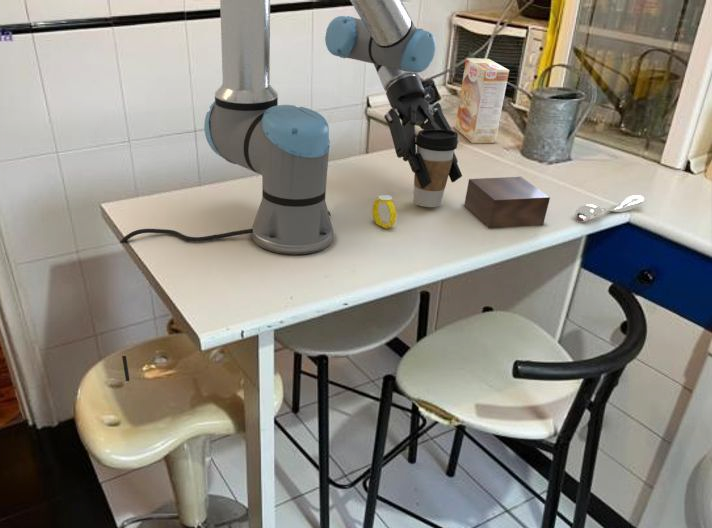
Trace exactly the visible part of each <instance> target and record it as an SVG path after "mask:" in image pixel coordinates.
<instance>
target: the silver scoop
mask: <svg viewBox="0 0 712 528" xmlns="http://www.w3.org/2000/svg"><path fill="white" fill-rule="evenodd" d="M635 199H636V201H635ZM632 200H634V201H632ZM644 202H645V198H644V197H643V196H642V195H631V196H629V197H626V198H625V199H624V200H623V201H622V202H620V203H619V204H618V205H617V206H615V207H614V208H607V207H602V206H600V205H598V204H592V203H586V204H582V205H580V206H579V207H578V208H576V210H575V212H574V217H575V220H576V221H578V222H581V223H582V222H587V221H590V220H592V219H594V218H596V217H598V216H599V215H601V214H602V213H603V212H604V211H607V212H608V211H609V212H615V213H622V212H628V211H631V210H633V209H635V208H638V207H639V206H641V205H642V204H643V203H644Z"/></svg>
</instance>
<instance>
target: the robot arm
mask: <svg viewBox="0 0 712 528" xmlns="http://www.w3.org/2000/svg"><path fill="white" fill-rule="evenodd" d="M349 1H350V3H351V5H352V6H353V8H354V10H355V11H356V13H357V14H358V17H359V18H357V17H353V16H349V15H347V16H346V15H338V16H336V17H334V18H332V20H331V21H330V22H329V23H328V25H327V27H326V31H325V35H324V42H325V46H326V49H327V50H328V52H329V53H330V54H331V55H332V56H335V57H339V58H341V59H351V60H356V61H359V62H364V63H370V64H373V66H374V68H375V71H376V73H377V76H378V78H379V81H380V83H381V86H382V87H383V90H384V92H385V94H386V97H387V100H388V103H389V105H390V107H391V108H390V109H389V110H388V111H387V112H386V113H385V114H384V116H383V117H384V120H385V121H386V123H387V125H388V127H389V131H390V135H391V139H392V143H393V146H394V150H395V155H396V157H397V158H398V159H402V161H404V162H408V164H409V167H410V169H411V172H412V173H414V175H415V174H416V176H417V179H418V181H419V184H420V186H421V188H425V187H426V186H428V185H429V184H430V183H431V182H432V181H431V178H430V176H429V173H428V171H427V169H426V166H425V164H424V161H423V159H422V156H421V154H420V153H418V154H416V153H417V145H416V126H418V127H419V128H420V129H421V130H426V129H445V130H452V131H453V129H452V127H451V126H450V123H449V121H448V120H447V117H446V116H445V115H444V113H443V109H442V105H441V104H440V103H439V102H436V103H435V104H430V103H429V102H428V101H427V100H426V99H425V93H426V91H425V88H424V86H423V83H422V80H421V78H420V77H419V76H418V75H419V73H422V72H424V71H426V69H427V68H428V67H430V64H431V63H432V62H433V60H434V57H435V53H436V39H435V37H434V35H433V34H432V32H430V31H429V30H424V28H417V27H416V26H415V24H414V22H413V20H412V18H411V16H410V14H409V12H408V10H407V7H406V6H405V4H404V2H403V0H349ZM219 4H220V5H219V6H220V7H219V9H220V10H219V11H220V12H219V13H220V40H221V75H222V84H221V86H220V87H218V89H217V90H216V91H215V92H214V101H213V103H212V104H210V106H209V111H207V112H206V114H205V118H204V125H203V126H204V127H203V130H204V135H205V139H206V141H207V143H208V145H209V147H210V149H211V150H212V151H213V152H214V153H215V154H216V155H218V156H219V157H221V158H222V159H223V160H225V161H226V162H228V163H230V164H233V165H237V166H240V167H242V168H245V169H247V170H249V171H252V172H254V173H256V174H258V175H260V176H262V177H261V178H262V186H261V187H262V193H261V194H262V195H261V196H262V197H261V200H260V203H259V207H258V209H257V212H256V215H255V218H254V220H253V224H252V228H248V229H241V230H234V231H229V232H223V233H219V234H218V233H216V234H211V235H206V236H188V235H186V234H183V233H181V232H179V231H178V230H177V231H176V230H173V229H164V228H163V229H162V228H140V229H137V230H133V231H131V232H129V233H127V234H126V235H125V236H124V237H123V238H122V239H121V240H120V241H119V243H120V244H125V243H126V242H127V241H128V240H130V239H131V238H133V237H135V236H137V235H142V234H164V235H165V234H167V235H173V236H176V237H178V238H180V239H181V240H184V241H187V242H206V241H207V242H208V241H211V240H218V239H219V240H220V239H225V238H229V237H236V236H240V235H246V234H247V235H248V234H252V235H251V237H252V241H253V242H254V243H255V245H257V246H259V247H261V248H262V249H264V250H266V251H269V252H273V253H276V254H282V255H307V254H312V253H317V252H320V251H322V250H325V249H326V248H328V247H329V246H331V244H332V242H333V240H334V239H333V238H334V227H333V223H332V220H331V217H332V214H331V212H330V211H329V210H328V206H327V201H326V195H327V194H326V193H327V181H328V170H329V169H328V168H329V154H330V147H331V145H330V144H331V140H330V127H329V123H328V121H327V119H326V118H325V116H323V115H322V114H320V113H319V112H317V111H315V110H313V109H311V108H308V107H304V106H297V105H294V104H293V105H292V104H278V100H279V99H278V98H279V96H278V95H279V94H278V92H277V91H276V90H275V89H274V88H273V87H272V85H271V84H270V81H271V79H270V78H271V77H270V76H271V73H270V71H271V64H270V63H271V59H270V58H271V0H219ZM457 143H458V144H459V139H457ZM462 177H463V174H462V172H461V169H460V167H459V164H458V158H457V155H456V154H455V152H454V153H453V161H452V165H451V168H450V172H449V176H448V178H449V179H450V181H451V183H455V182H456V181H458V180H459V179H460V178H462ZM121 359H122V365H123V371H124V372H123V373H124V377H125V378H124V379H125V382H126V381H129V380H130V373H129V367H128V361H127V355H122V356H121Z"/></svg>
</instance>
